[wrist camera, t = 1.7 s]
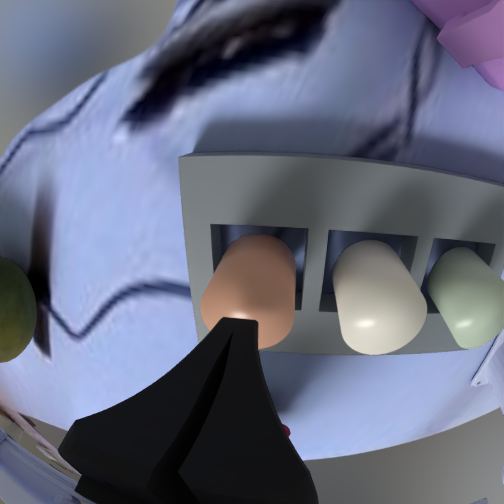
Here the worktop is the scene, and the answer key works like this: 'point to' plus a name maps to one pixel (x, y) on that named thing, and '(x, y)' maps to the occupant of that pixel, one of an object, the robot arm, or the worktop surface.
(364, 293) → the button cream
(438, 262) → the button sage
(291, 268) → the button terracotta
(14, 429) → the house plant
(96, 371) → the worktop surface
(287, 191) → the panel
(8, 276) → the fruit
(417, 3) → the teapot
